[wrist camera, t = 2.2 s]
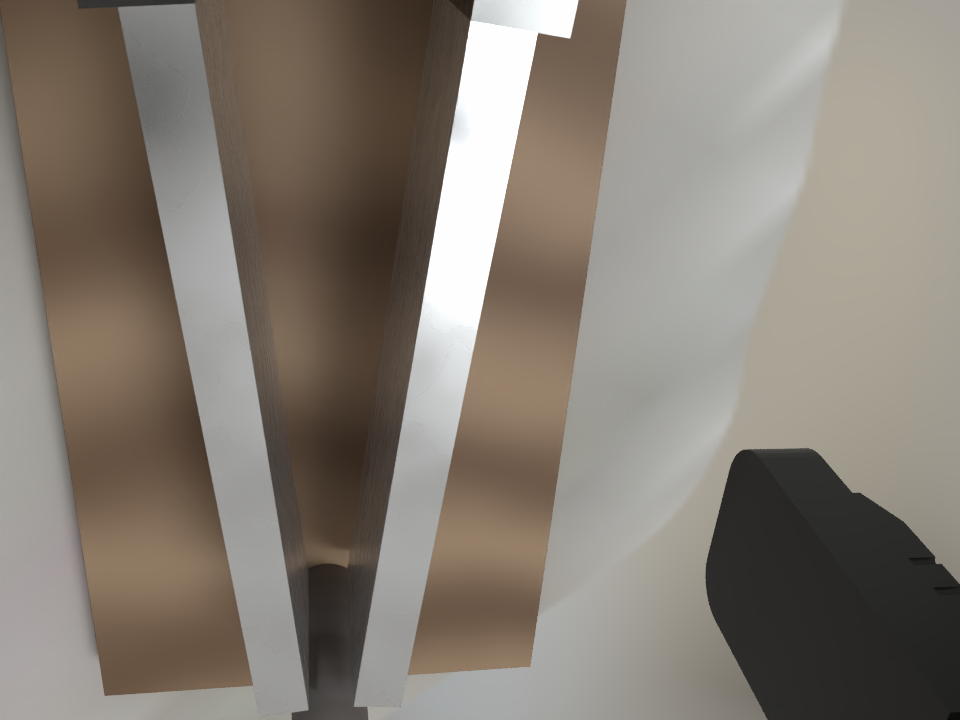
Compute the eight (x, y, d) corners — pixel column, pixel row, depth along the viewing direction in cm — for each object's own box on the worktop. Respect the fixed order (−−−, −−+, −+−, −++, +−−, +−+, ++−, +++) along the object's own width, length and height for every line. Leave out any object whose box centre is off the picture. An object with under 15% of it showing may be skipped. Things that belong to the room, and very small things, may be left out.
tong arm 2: (308, 575, 27) (308, 710, 23) (246, 583, 27) (234, 721, 22) (195, -194, 18) (159, -214, 13) (99, -193, 18) (29, -213, 13)
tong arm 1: (406, 575, 28) (424, 706, 23) (346, 573, 27) (353, 706, 23) (543, -149, 19) (612, -153, 15) (458, -168, 19) (504, -179, 14)
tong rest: (521, 635, 33) (573, 822, 27) (113, 660, 31) (60, 875, 24) (664, -424, 19) (846, -573, 13) (-58, -538, 17) (-292, -798, 10)
